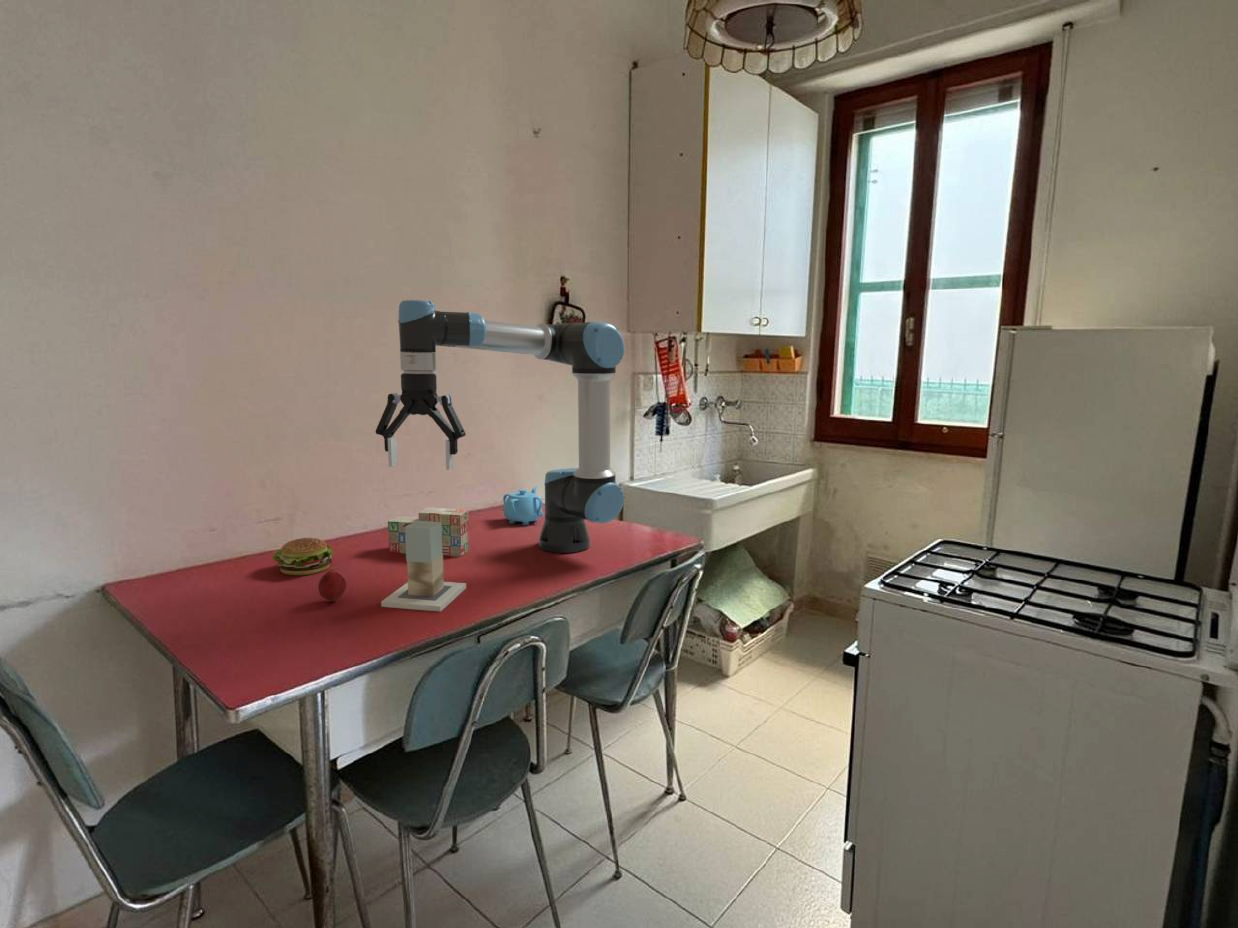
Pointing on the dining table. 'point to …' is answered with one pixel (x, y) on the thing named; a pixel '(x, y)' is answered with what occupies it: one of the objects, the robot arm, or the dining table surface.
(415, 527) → the sage block
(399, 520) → the stack of blocks
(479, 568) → the dining table surface
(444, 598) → the white square base plate
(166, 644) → the dining table surface
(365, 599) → the dining table surface
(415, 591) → the beech block
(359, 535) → the dining table surface
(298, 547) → the food
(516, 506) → the teapot
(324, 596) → the onion
